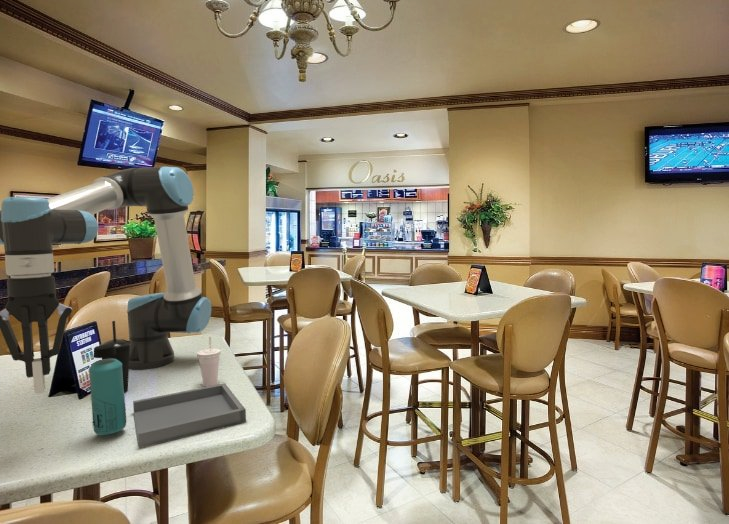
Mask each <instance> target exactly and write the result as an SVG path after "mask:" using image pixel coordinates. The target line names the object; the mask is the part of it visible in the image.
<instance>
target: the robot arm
mask: <svg viewBox="0 0 729 524" xmlns="http://www.w3.org/2000/svg"><path fill="white" fill-rule="evenodd" d="M194 195H195V194H194V187H193V183H192V181H191V179H190V176H189V175H188V174H187V173H186V172H185V171H184V170H183V169H182V168H180V167H176V166H154V167H153V166H152V167H151V166H150V167H131V168H127V169H122V170H119V171H115V172H113V173H110V174H107V175H103V176H101V177H98V178H96V179H95V180H93V182H92V183H91V184H89V185H86V186H82V187H79V188H76V189H73V190H70V191H66V192H64V193H61V194H58V195H55V196H53V197H49V198H45V197H36V196H35V197H33V196H9V197H5V198H4V199H2V201H1V205H0V206H1V207H0V245H3V248H4V262H5V263H4V264H5V274H6V275H7V276H10V277H9V278H8V279H7V280H6V287H7V302H6V304H5V308H3V309H2V310H1V311H0V331H1V334H2V336H3V338H4V341H5V344H6V346H7V349H8V351H9V353H10V356H11V358H12V360H13V361H15V362H17V361H22V362H23V363H24V365H25V375H26V377H27V378H33V379H32V381H33V393H34V395H36V394H37V395H39V394H44V393H45V390H46V379H45V376H47V375H50V373H51V369H52V368H51V358H52V357H54V356H57V355H59V353H60V352H61V347H62V342H63V339H64V338H63V337H64V333H65V328H66V326H67V320H68V317H70V314H71V313H72V311H73V307H72V306H70V305H65V304H62V303H60V299H59V298H58V297H57V293H56V278H55V276H54V275H52V274H53V273H54V272H55V266H54V265H55V263H54V249H53V245H81V244H84V243H85V244H86V243H90V242H92V241H93V240H94V239H95V238H96V236H97V235H98V232H99V224H98V221H97V219H96V217H95V216H94V215H95V214H98V213H100V212H103V211H105V210H108V211H109V210H110V211H111V210H116V209H119V208H122V207H123V208H124V207H126V208H127V207H146V211H147V215H148V216H149V217H151V218H153V220H154V226H155V230H156V236H157V243H158V246H159V252H160V257H161V263H162V269H163V273H164V280H165V284H166V290H167V291H166V292H156V293H151V294H150V293H149V294H143V295H139V296H134V297H132V298H129V300H128V301H127V308H126V313H127V322H128V323H127V325H128V327H127V328H128V338H129V339H128V341H130V342H131V344H130V352H129V369H131V370H145V369H153V368H159V367H162V366H167V365H168V363H169V364H171V363H172V362H174V361H175V351H174V348H173V346H172V345H171V341H170V340H169V337H168V336H169V335H168V334H169V333H177V334H179V333H180V334H185V333H186V334H192V333H201V332H202V331H204V330H205V329H206V328H207V326H208V324H209V322H210V319H211V316H212V303H211V300H210V299H209V298H208V297H205V296H203V293H202V289H201V288H199V287H197V286H196V281H195V275H194V268H193V263H192V255H191V249H190V243H189V238H188V232H187V224H186V220H185V219H186V218H185V215H186V213H188V211H189V205H191V204H192V202H193V200H194ZM56 309H57V315H59V318H58V322H57V327H56V332H55V336H54V339H53V340H54V341H53V345H52V348H51V349H50V342H49V341H50V340H49V339H50V338H49V331H48V330H49V327H48V322H49V321H48V319H50V317H51V316H52V315H53V314H54V312H55V311H56ZM10 315H11V316H12V317H13V318H15V319H16V320H17V321H18V322H19V323H21V324H20V326H21V332H22V343H23V345H22V346H23V347H22V348H23V351H22V350H21V347H20V345H19V342H18V339H17V337H16V335H15V332H14V330H13V327H12V324H11V323H10V321H9V320H10V319H11V317H10ZM34 322H35V323H37V327H38V335H39V336H38V338H39V351H40V352H39V353H40V357H38V358H37V357H36V358H35V354H34V353H35V352H34V339H33V323H34ZM173 360H174V361H173ZM170 362H171V363H170Z"/></svg>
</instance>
